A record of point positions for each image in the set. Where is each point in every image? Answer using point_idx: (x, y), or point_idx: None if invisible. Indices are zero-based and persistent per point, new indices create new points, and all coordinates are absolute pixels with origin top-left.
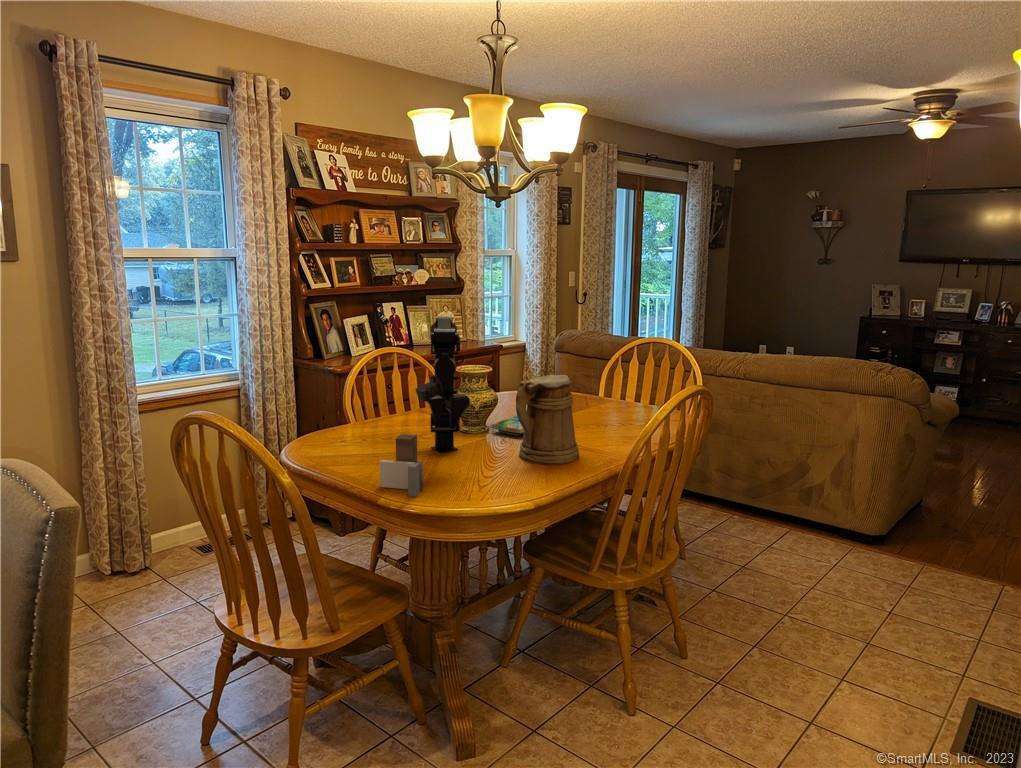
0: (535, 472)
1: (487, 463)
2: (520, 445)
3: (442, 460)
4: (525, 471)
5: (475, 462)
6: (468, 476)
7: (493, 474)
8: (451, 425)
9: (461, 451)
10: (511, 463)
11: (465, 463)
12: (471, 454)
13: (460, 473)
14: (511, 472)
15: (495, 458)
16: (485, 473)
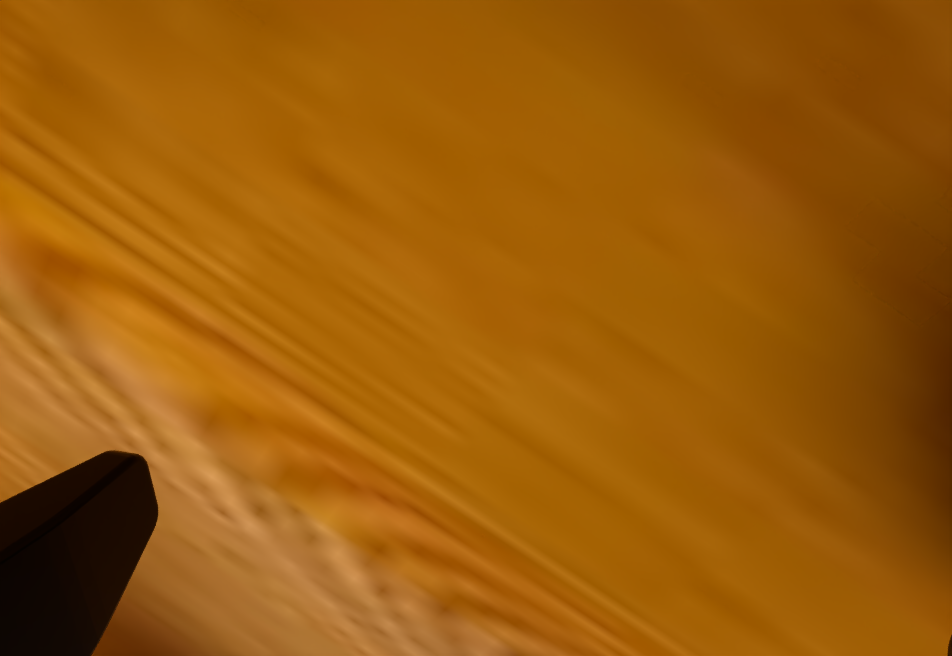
0: None
1: (408, 513)
2: None
3: (801, 262)
4: None
5: (496, 464)
6: (125, 145)
7: (102, 359)
8: (21, 496)
9: (920, 597)
10: (309, 624)
11: (526, 380)
12: (749, 592)
13: (247, 136)
14: None
15: (497, 636)
16: (152, 326)
